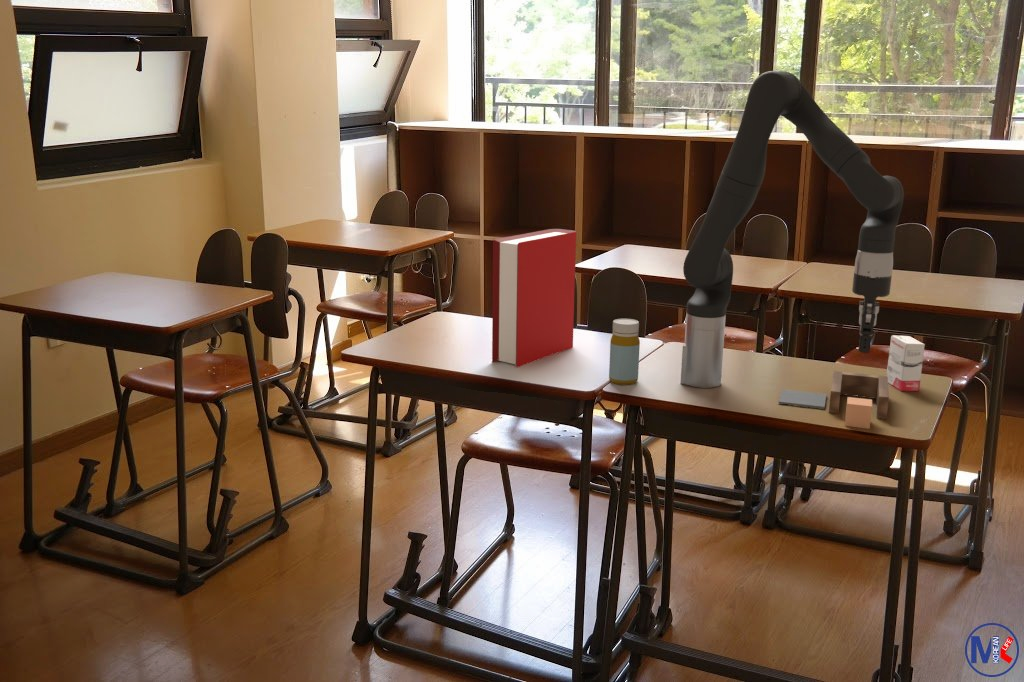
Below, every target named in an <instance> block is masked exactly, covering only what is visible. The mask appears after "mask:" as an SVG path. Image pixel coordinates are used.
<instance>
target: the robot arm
mask: <svg viewBox="0 0 1024 682" xmlns="http://www.w3.org/2000/svg"><path fill="white" fill-rule="evenodd" d="M747 95H748V96H747V99H746V103H745V107H744V110H743V113H742V117H741V121H740V124H739V128H738V130H737V133H736V135H735V138H734V140H733V142H732V143H733V144H732V146H731V148H730V150H729V153H728V156H727V158H726V161H725V163H724V166H723V168H722V171H721V173H720V175H719V179H718V181H717V182H716V183H717V184H716V186H715V190H714V192H713V195H712V198H711V201H710V203H709V205H708V208H707V211H706V213H705V217H704V219H703V222H702V224H701V226H700V229H699V230H698V232H697V234H696V235H695V236H696V237H695V238H694V240H693V242H692V245H691V246H690V248H689V250H688V252H687V254H686V255H685V259H684V262H683V269H682V270H683V277H684V279H685V280H686V282H687V284H689V286H691V287H693V288H695V290H694V293H693V295H692V296H691V297H690V298H689V299H688V301H687V303H686V315H685V316H686V318H685V331H684V332H685V333H684V334H685V335H684V344H683V345H682V350H681V351H682V354H681V372H680V384H681V385H687V386H691V387H692V388H693V387H695V388H703V389H704V388H706V389H710V388H715V387H719V386H721V384H722V377H723V376H722V373H723V358H724V345H725V329H726V317H727V309H728V308H727V307H728V306H729V303H730V300H731V296H732V295H731V294H732V288H733V287H732V286H733V279H734V277H733V276H734V263H733V258H732V256H731V254H730V252H729V251H728V250H727V249H726V245H727V244H728V241H729V239H730V237H731V235H732V234H733V232H734V231H735V230H736V228H737V227H738V225H740V224H741V222H742V221H743V220H744V218H745V217H746V215H747V214H748V213H749V211H750V210H751V208H752V206H753V205H754V203H755V201H756V199H757V196H758V194H759V191H760V189H761V187H762V183H763V182H764V179H765V174H766V168H767V153H768V151H767V150H768V144H769V141H770V137H771V136H772V132H773V130H774V128H775V125H776V124H777V121H778V120H779V118H780V116H781V117H783V118H784V119H786V120H787V121H788V122H790V123H791V124H793V125H794V126H795V127H797V129H799V131H800V132H801V133H802V134H803V136H804V137H806V140H808V142H809V143H810V145H811V147H812V148H813V151H814V152H815V153H816V154H817V156H818V157H819V159H820V160H821V161H822V162H823V163H824V164H825V165H826V166H827V167H828V168H829V169H830V170H831V171H832V172H833V173H834V174H836V176H837V177H838V178H840V180H842V181H843V182H844V184H845V186H846V187H847V188H848V190H849V191H850V193H851V194H852V195H853V196H854V198H855V199H856V200H857V202H858V203H860V205H861V206H862V207H863V208H865V209H866V210H867V214H866V217H865V218H866V219H865V221H864V223H862V225H861V227H860V229H859V235H858V245H857V253H856V256H855V260H854V261H855V262H854V267H853V268H854V272H853V279H852V288H851V290H852V293H853V294H854V295H858V296H862V297H864V298H863V300H859V306H858V312H859V318H858V324H859V326H860V328H859V344H858V352H859V353H861V354H862V353H863V354H869V353H870V352H871V343H872V336H873V335H874V327H876V325H877V318H878V314H879V313H880V302H879V301H878V302H877V299H878V298H885V297H888V296H889V295H890V293H891V286H892V278H893V277H892V276H893V268H894V251H895V250H894V248H895V240H896V229H897V226H898V223H899V220H900V216H901V212H902V208H903V204H904V197H905V194H904V193H905V192H904V191H905V190H904V187H903V185H902V182H901V181H900V180H899V179H898V178H897V177H895V176H891V175H882V174H881V173H880V172H878V171H877V169H876V168H875V167H874V166H873V165H872V164H871V158H870V157H869V155H868V154H867V153H866V152H865V151H864V150H863V149H862V148H861V147H860V146H859V145H858V144H857V143H856V142H855V141H853V140H852V139H851V138H850V137H849V136H848V135H847V134H846V133H845V132H844V131H843V130H842V129H840V127H839V126H837V125H836V123H835V122H833V120H832V119H831V118H830V117H829V116H828V115H827V114H826V113H825V112H824V111H823V110H822V108H821V107H820V106H819V105H818V103H817V102H816V100H815V99H814V98H813V97H812V95H811V94H810V93H809V91H808V89H807V88H806V87H805V86H804V84H803V83H802V82H801V80H800V79H799V78H798V77H797V76H796V75H795V74H793V73H791V71H790V72H789V71H783V70H769V71H765V72H763V73H761V74H760V75H758V76H757V77H756V79H754V81H753V83H752V84H751V86H750V88H749V92H748V94H747Z"/></svg>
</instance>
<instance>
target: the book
mask: <svg viewBox="0 0 1024 682" xmlns="http://www.w3.org/2000/svg"><path fill="white" fill-rule="evenodd" d="M576 249H577V230H571V229H564V228H563V229H562V228H548V229H544V230H537V231H532V232H527V233H521V234H516V235H512V236H511V235H510V236H506V237H505V236H504V237H499V238H493V239H492V321H491V322H492V327H491V329H492V332H491V333H492V334H491V335H492V337H491V338H492V341H491V348H492V349H491V355H492V356H491V362H492V363H494V362H498V361H500V362H504V363H508V364H513V365H515V366H516V368H518V367H521V366H524V365H527V364H530V363H533V362H535V361H536V362H537V361H538V360H542V359H545V358H547V357H549V356H553V355H555V354H559V353H561V352H564V351H566V350H569V349H572V348H574V326H575V325H574V317H575V291H576V290H575V288H576V286H575V285H576V281H575V280H576V256H577V253H576V252H577V250H576Z"/></svg>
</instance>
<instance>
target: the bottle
mask: <svg viewBox="0 0 1024 682" xmlns="http://www.w3.org/2000/svg"><path fill="white" fill-rule="evenodd" d="M639 322H640V321H638V320H637V319H633V318H617V319H614V320H613V321H612V335H611V338H610V346H609V368H608V369H609V370H608V379H609V381H610V382H611V383H612V384H615V385H619V386H631V385H634V384H636V383H637V382H638V381H639V369H640V368H639V367H640V366H639V365H640V344H641V343H640V341H641V340H640V338H639V330H640V329H639V328H640V327H639V326H640V323H639Z"/></svg>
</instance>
